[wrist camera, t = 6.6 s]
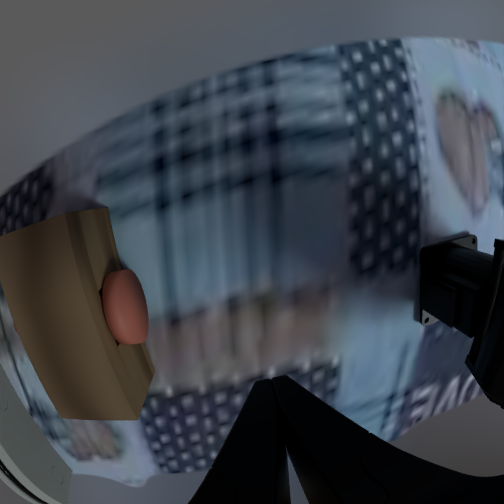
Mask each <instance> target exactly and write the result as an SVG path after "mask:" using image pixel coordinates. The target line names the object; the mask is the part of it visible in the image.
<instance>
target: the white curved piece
mask: <svg viewBox="0 0 504 504" xmlns="http://www.w3.org/2000/svg"><path fill="white" fill-rule="evenodd" d="M71 477H72V470H71V468H70V467H69V466H68V465H67V464H66V463H65V461H64V460H63V459H62V458H61V457H60V455H59V454H58V453H57V452H56V450H55V449H54V448H53V446H52V445H51V444H50V442H49V441H48V440H47V438H46V437H45V436H44V434H43V433H42V432H41V430H40V429H39V427H38V426H37V424H36V423H35V421H34V420H33V419H32V417H31V415H30V414H29V412H28V411H27V409H26V408H25V406H24V405H23V403H22V401H21V400H20V398H19V396H18V395H17V393H16V391H15V389H14V388H13V386H12V384H11V382H10V381H9V379H8V377H7V375H6V373H5V371H4V369H3V367H2V365H1V363H0V479H2V480H3V481H4V482H5V483H6V484H7V485H8V486H9V487H10V488H11V489H12V490H14V491H15V492H16V493H17V494H19V495H20V496H21V497H23V498H24V499H26V500H28V501H29V502H31V503H33V504H67V503H68V496H69V490H70V483H71Z"/></svg>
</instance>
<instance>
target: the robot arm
mask: <svg viewBox="0 0 504 504" xmlns="http://www.w3.org/2000/svg"><path fill="white" fill-rule="evenodd" d="M472 240H473V241H472ZM494 247H495V250H494V255H490V254H487V253H484V252H480V251H477V237H476V236H475V235H467V236H463V237H460V238H456V239H452V240H448V241H444V242H441V243H437V244H433V245H429V246H425V247H423V248H422V249H421V251H420V323H421V324H422V325H423V326H427V325H430V324H432V323H435V322H437V321H441V322H443V323H444V324H446V325H447V326H449V327H451V328H452V327H454V328H456V329H457V330H459V331H460V332H462V333H463V334H465V335H466V336H468V337H470V338H472V337H474V336H475V337H474V340H473V343H472V346H471V349H470V352H469V355H467V357H466V360H465V364H466V365H467V367H468V368H469V370H470V372H471V373H472V375H473V376H474V378H475V379H476V381H477V382H478V384H479V386H480V387H481V389H482V390H483V392H484V394H485V395H486V396H487V398H489V400H490V401H491V402H493V403H496V404H497V405H500V406H501V408H502V409H504V240H501V239H495V241H494ZM426 252H427V255H425V254H426ZM425 319H426V320H425ZM284 440H285V441H284ZM285 445H286V446H285ZM286 448H287V451H286ZM287 452H288V454H289V457H290V460H291V462H292V464H293V467H294V469H295V472H296V474H297V476H298V479H299V481H300V483H301V486H302V488H303V491H304V493H305V495H306V497H307V500H308V502H309V504H504V475H499V476H492V477H478V476H471V475H466V474H463V473H460V472H457V471H454V470H451V469H448V468H445V467H442V466H439V465H437V464H434V463H431V462H429V461H426V460H423V459H421V458H418V457H416V456H414V455H412V454H409V453H407V452H405V451H402V450H400V449H398V448H396V447H395V446H393V445H391V444H389V443H387V442H386V441H384V440H382V439H380V438H379V437H377V436H376V435H374V434H372V433H369V431H367V430H366V429H364V428H363V427H361V426H360V425H358V424H357V423H355V422H353V421H352V420H350V419H349V418H347V417H346V416H344V415H343V414H341V413H340V412H338V411H337V410H335V409H334V408H332V407H331V406H330V405H328V404H327V403H325V402H324V401H322V400H321V399H319V398H318V397H317V396H315V395H314V394H312V393H311V392H309V391H308V390H307V389H305V388H304V387H302V386H301V385H300V384H298V383H297V382H296V381H294V380H293V379H291V378H290V377H289V376H287V375H282V376H278V377H273V378H272V379H271V380H270V379H263V380H258V381H256V382H255V383H254V385H253V387H252V389H251V391H250V393H249V395H248V397H247V399H246V401H245V403H244V405H243V407H242V409H241V411H240V413H239V415H238V417H237V419H236V421H235V423H234V425H233V427H232V429H231V430H230V432H229V434H228V436H227V438H226V440H225V442H224V444H223V446H222V448H221V449H220V451H219V453H218V455H217V457H216V459H215V461H214V462H213V464H212V466H211V469H209V471H208V473H207V475H206V477H205V479H204V480H203V482H202V484H201V485H200V487H199V488H198V490H197V491H196V493H195V495H194V496H193V497H192V499H191V500H190V501H189V503H188V504H291V498H290V484H289V471H288V459H287Z"/></svg>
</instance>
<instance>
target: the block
mask: <svg viewBox="0 0 504 504" xmlns="http://www.w3.org/2000/svg"><path fill="white" fill-rule="evenodd" d="M119 270H122V268H121V264H120V260H119V256H118V252H117V248H116V244H115V239H114V235H113V231H112V226H111V221H110V216H109V211H108V207H105V208H98V209H91V210H84V211H77V212H71V213H64V214H61V215H58V216H55V217H52V218H49V219H46V220H43V221H40V222H38V223H35V224H32V225H29V226H26V227H24V228H21V229H18V230H15V231H13V232H10V233H8V234H5V235H2V236H0V281H1V285H2V288H3V291H4V295H5V298H6V301H7V304H8V307H9V310H10V312H11V315H12V318H13V321H14V323H15V326H16V329H17V331H18V334H19V336H20V339H21V341H22V343H23V346H24V348H25V350H26V352H27V355H28V357H29V359H30V361H31V363H32V365H33V368H34V370H35V372H36V374H37V376H38V378H39V380H40V382H41V383H42V385H43V387H44V389H45V391H46V393H47V395H48V396H49V398H50V400H51V402H52V403H53V405H54V407H55V408H56V410H57V412H58V413H59V415H60V417H61V418H67V419H82V420H138V418H139V415H140V412H141V409H142V406H143V403H144V400H145V398H146V395H147V392H148V389H149V386H150V384H151V381H152V378H153V375H154V373H155V369H154V366H153V364H152V361H151V359H150V356H149V353H148V350H147V348H146V345H145V342H143V343H138V344H130V345H122V344H120V343H119V342H118V341H117V340H116V339H115V338H114V336H113V335H112V333H111V331H110V329H109V327H108V324H107V321H106V318H105V314H104V309H103V304H102V301H101V298H100V295H99V292H100V291H103V285H104V281H105V279H106V277H107V275H108V274H109V273H111V272H115V271H119Z"/></svg>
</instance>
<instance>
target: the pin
mask: <svg viewBox="0 0 504 504" xmlns="http://www.w3.org/2000/svg"><path fill="white" fill-rule="evenodd" d="M99 295H100V298H101V301H102V304H103V309H104V314H105V318H106V321H107V324H108V327H109V329H110V331H111V333H112V335H113V336H114V338H115V339H116V340H117V341H118V342H119V343H120V344H122V345H130V344H138V343H143V342H144V341H145V339H146V337H147V333H148V310H147V304H146V299H145V295H144V292H143V289H142V286H141V283H140V281H139V279H138V277H137V276H136V274H135V273H134V272H133V271H132V270H130V269H124V270H119V271H115V272H111V273H109V274H108V275H107V277H106V279H105V281H104V285H103V291H100V292H99ZM14 326H15V323H14ZM15 329H16V326H15ZM16 331H17V329H16ZM17 333H18V331H17Z"/></svg>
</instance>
